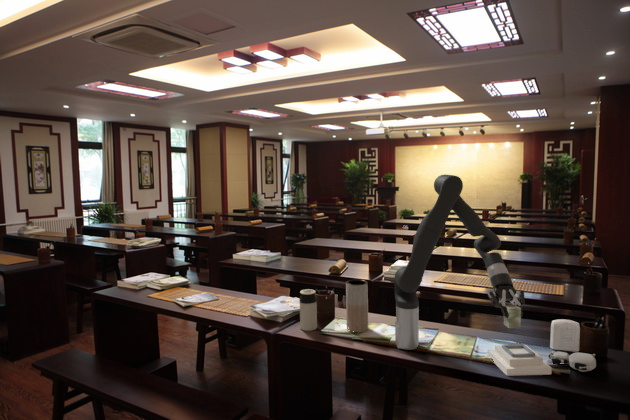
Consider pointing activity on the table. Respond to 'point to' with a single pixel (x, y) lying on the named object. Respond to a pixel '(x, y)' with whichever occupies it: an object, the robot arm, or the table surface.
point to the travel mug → (308, 310)
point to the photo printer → (565, 335)
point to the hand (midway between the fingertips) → (514, 316)
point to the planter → (357, 305)
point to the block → (513, 316)
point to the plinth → (519, 368)
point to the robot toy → (574, 360)
